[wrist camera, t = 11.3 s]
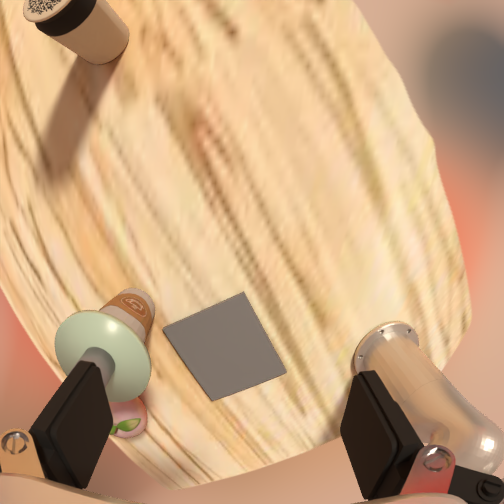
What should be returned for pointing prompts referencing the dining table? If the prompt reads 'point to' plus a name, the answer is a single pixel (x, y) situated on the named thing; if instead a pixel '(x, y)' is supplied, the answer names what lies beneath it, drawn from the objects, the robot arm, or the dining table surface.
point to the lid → (105, 352)
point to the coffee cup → (133, 310)
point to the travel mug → (81, 26)
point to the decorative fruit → (128, 418)
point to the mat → (226, 347)
